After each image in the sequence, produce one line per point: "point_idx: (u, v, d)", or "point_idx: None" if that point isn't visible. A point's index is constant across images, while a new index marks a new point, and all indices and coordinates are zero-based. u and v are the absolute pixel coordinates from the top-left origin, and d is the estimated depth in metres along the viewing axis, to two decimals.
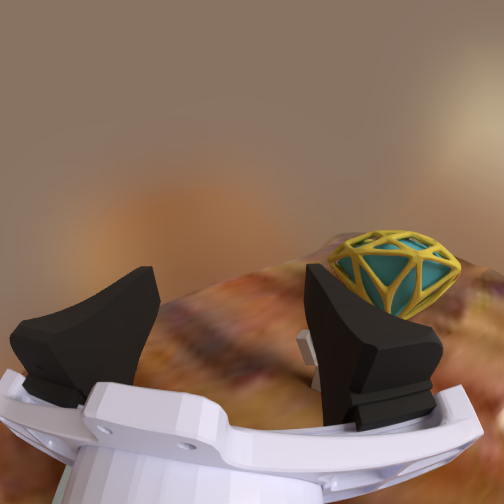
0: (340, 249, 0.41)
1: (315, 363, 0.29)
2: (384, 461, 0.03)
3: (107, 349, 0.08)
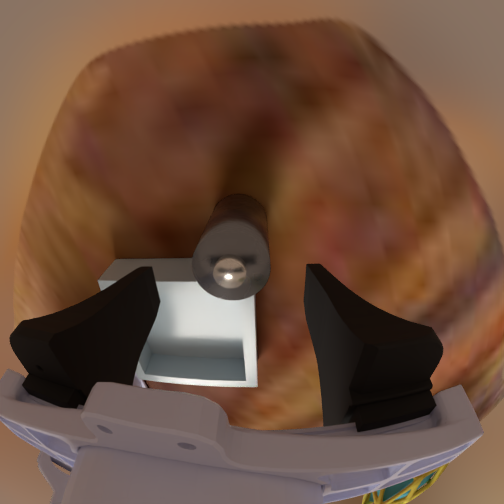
0: None
1: None
2: (384, 461, 0.03)
3: (107, 349, 0.08)
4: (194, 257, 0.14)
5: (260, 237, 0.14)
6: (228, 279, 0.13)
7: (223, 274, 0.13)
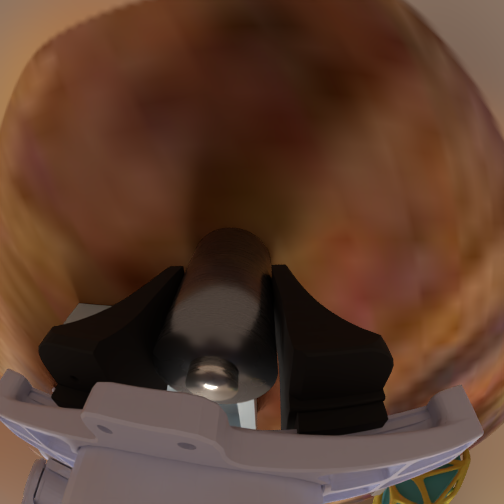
0: (455, 487, 0.18)
1: None
2: (384, 461, 0.03)
3: (146, 354, 0.08)
4: (155, 355, 0.08)
5: (262, 325, 0.08)
6: (210, 392, 0.08)
7: (201, 386, 0.07)
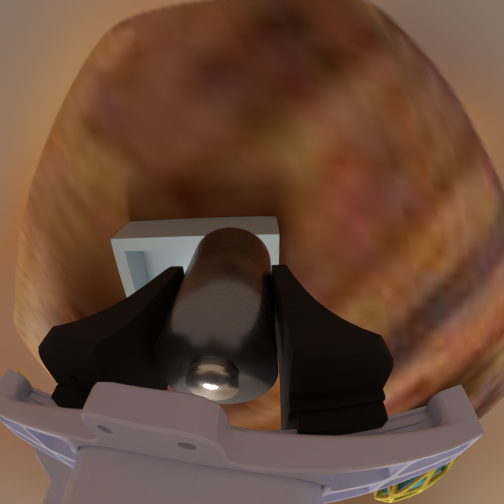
0: None
1: None
2: (384, 461, 0.03)
3: (146, 354, 0.08)
4: (155, 354, 0.08)
5: (262, 324, 0.08)
6: (210, 391, 0.08)
7: (202, 385, 0.07)
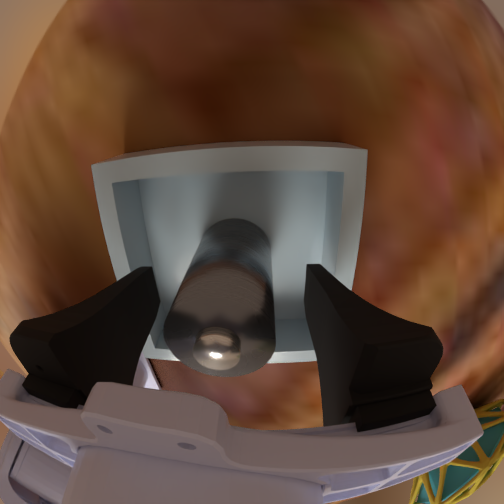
0: None
1: None
2: (384, 461, 0.03)
3: (107, 349, 0.08)
4: (166, 327, 0.09)
5: (262, 299, 0.09)
6: (215, 360, 0.09)
7: (207, 354, 0.09)
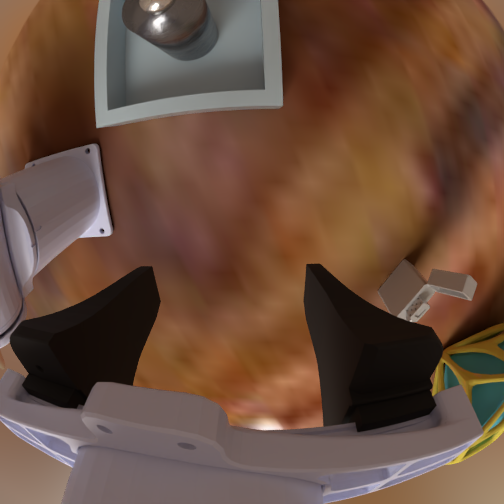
0: None
1: (428, 284, 0.18)
2: (384, 461, 0.03)
3: (107, 349, 0.08)
4: (127, 0, 0.08)
5: None
6: (153, 2, 0.08)
7: None
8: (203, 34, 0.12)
